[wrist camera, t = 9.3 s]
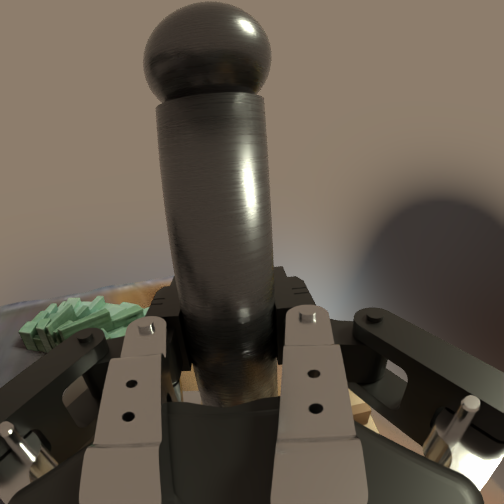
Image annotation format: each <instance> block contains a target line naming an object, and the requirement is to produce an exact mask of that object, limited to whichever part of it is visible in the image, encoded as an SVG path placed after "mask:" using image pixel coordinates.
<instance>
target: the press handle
mask: <svg viewBox="0 0 504 504" xmlns="http://www.w3.org/2000/svg"><path fill="white" fill-rule="evenodd" d="M270 66H271V48H270V44H269V40H268V38H267V35H266V33H265V31H264V30H263V28H262V27H261V25H260V24H259V23H258V22H257V21H256V20H255V19H254V18H253V17H252V16H251V15H250V14H248V13H247V12H245V11H243V10H242V9H240V8H237V7H235V6H233V5H230V4H225V3H220V2H200V3H194V4H191V5H188V6H185V7H182V8H180V9H178V10H176V11H174V12H173V13H171V14H170V15H168V16H167V17H166V18H165V19H163V20H162V21H161V22H160V23H159V25H158V26H157V27H156V28H155V29H154V31H153V32H152V34H151V36H150V37H149V39H148V42H147V44H146V47H145V52H144V59H143V67H144V74H145V78H146V81H147V83H148V85H149V87H150V89H151V91H152V92H153V94H154V95H155V96H156V97H157V98H158V99H159V100H160V101H161V102H162V104H160V105H158V106H157V107H156V122H157V136H158V149H159V160H160V170H161V179H162V189H163V197H164V206H165V214H166V221H167V228H168V235H169V242H170V249H171V255H172V261H173V268H174V274H175V280H176V285H177V291H178V296H179V302H180V307H181V312H182V317H183V322H184V327H185V332H186V337H187V341H188V346H189V351H190V355H191V359H192V364H193V368H194V372H195V377H196V381H197V385H198V389H199V391H183V401H184V402H190V403H195V404H201V405H207V406H213V407H220V408H227V407H231V406H235V405H239V404H243V403H247V402H251V401H254V400H258V399H261V398H268V397H277V396H278V387H277V357H276V324H275V289H274V265H273V243H272V222H271V204H270V186H269V168H268V152H267V136H266V122H265V108H264V98H263V97H262V96H259V95H256V94H257V93H258V92H259V91H260V90H261V88H262V86H263V85H264V83H265V81H266V79H267V77H268V74H269V70H270Z"/></svg>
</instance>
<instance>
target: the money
mask: <svg viewBox="0 0 504 504" xmlns="http://www.w3.org/2000/svg"><path fill="white" fill-rule="evenodd" d="M148 309H149V307H148V308H145V309H143V308H141V307H140V306H139V305H136V304H132V303H127V302H122V303H121V304H120V305H117V304H109V303H105V300H104V296H97V297H96V298H95V299H94V300H93V301H92V302H81V301H80V298H68V300H67V302H66V301H63V302H62V303H61V304H60V306H58V308H57V304H53V303H52V304H51V305H50V306H49V307H48V308H47V309H46V310H45V311H40V312H39V314H38V315H37V316H36V317H35V318H34V319H33V320H32V321H31V322H27V323H26V324H25V325H24V326H23V327H22V328H21V329H20V330H19V334H20V336H21V338H22V340H23V342H24V344H25V346H26V348H27V350H33V351H43V352H47V353H48V352H49V351H51V350H52V349H53V348H55V347H56V346H58V345H59V344H60V343H62V342H63V341H65V340H66V339H67V338H69V337H70V336H71V335H73V334H74V333H76V332H78V331H80V330H82V329H86V328H99V329H101V330H103V332H104V334H105V337H106V340H107V339H112V338H117V337H121V336H125V333H126V329H127V327H128V325H129V324H130V323H131V322H133V321H135V320H137V319H139V318H142V317H145V315H146V313H147V311H148Z"/></svg>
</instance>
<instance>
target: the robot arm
mask: <svg viewBox="0 0 504 504" xmlns="http://www.w3.org/2000/svg"><path fill="white" fill-rule="evenodd" d="M274 289H275V324H276V357H277V361H278V365H281V364H283V365H282V381H281V396H277V397H268V398H261V399H258V400H254V401H251V402H247V403H243V404H239V405H235V406H231V407H227V408H220V407H213V406H207V405H201V404H195V403H190V402H184V401H183V391H182V383H181V379H180V376H181V371H191V365H192V359H191V355H190V351H189V346H188V341H187V337H186V332H185V327H184V322H183V317H182V312H181V307H180V302H179V296H178V291H177V285H176V280H175V276H174V278H173V280H172V283H171V285H170V286H167V287H163V288H161V289H160V290H159V291H158V292H156V294H155V296H154V298H153V300H152V302H151V305H150V307H149V309H148V311H147V313H146V315H145V317H142V318H139V319H137V320H135V321H133V322H131V323H130V324H129V325H128V327H127V329H126V333H125V336H121V337H117V338H112V339H107V340H106V337H105V334H104V332H103V330H101V329H99V328H86V329H82V330H80V331H78V332H76V333H74V334H73V335H71V336H70V337H69V338H67V339H66V340H65V341H63V342H62V343H60V344H59V345H58V346H56V347H55V348H53V349H52V350H51V351H49V352H48V353H47V354H45V355H44V356H43V357H41V358H40V359H39V360H37V361H36V362H34V363H33V364H32V365H30V366H29V367H28V368H26V369H25V370H24V371H22V372H21V373H20V374H18V375H17V376H16V377H14V378H13V379H12V380H10V381H9V382H8V383H7V384H5V385H4V386H3V387H1V388H0V498H1V499H2V501H3V502H4V503H5V504H484V501H483V497H482V495H481V493H480V489H481V488H482V487H483V485H484V484H485V483H486V481H487V480H488V479H489V477H490V476H491V474H492V473H493V471H494V470H495V468H496V466H497V465H498V464H499V463H500V461H501V460H502V459H503V458H504V373H503V372H501V371H499V370H497V369H496V368H494V367H492V366H490V365H488V364H486V363H485V362H483V361H481V360H479V359H477V358H475V357H473V356H472V355H470V354H468V353H466V352H464V351H462V350H460V349H458V348H457V347H455V346H453V345H451V344H449V343H447V342H445V341H443V340H442V339H440V338H438V337H436V336H434V335H432V334H430V333H429V332H426V331H425V330H423V329H421V328H419V327H417V326H415V325H413V324H411V323H410V322H408V321H406V320H404V319H402V318H400V317H398V316H396V315H395V314H392V313H391V312H389V311H387V310H384V309H380V308H365V309H362V310H359V311H358V312H356V313H355V315H354V321H338V320H333V319H330V318H329V314H328V312H327V311H326V310H325V309H324V308H322V307H320V306H316V304H315V302H314V300H313V298H312V296H311V294H310V293H309V291H308V289H307V287H306V285H305V283H304V281H303V280H301V279H299V278H298V277H296V276H294V277H287V276H286V273H285V271H284V269H283V267H282V266H280V267H274ZM387 360H390V361H391V362H393V363H394V364H396V365H398V366H399V367H401V368H402V369H403V370H404V371H405V372H406V374H407V377H408V383H407V382H406V381H404V380H403V379H401V378H400V377H398V376H397V375H395V374H394V373H392V372H391V371H389V370H388V369H386V364H387ZM81 375H82V377H83V379H84V381H85V383H86V385H87V387H88V388H87V389H86V390H85V391H84V392H83V393H82V394H81V395H80V396H78V397H77V398H76V399H75V400H74V401H73V402H72V403H71V404H70V405H69V406H67V407H65V405H64V403H63V401H62V395H63V392H64V390H65V389H66V388H67V387H68V386H70V385H71V384H72V383H73V382H74V381H75V380H77V379H78V378H79V377H80V376H81ZM348 388H349V389H350V390H351V391H352V392H353V393H354V394H356V395H357V396H358V397H359V398H361V399H362V400H363V401H364V402H366V403H367V404H368V405H369V406H371V407H372V408H373V409H374V410H376V411H377V412H378V413H379V414H381V415H382V416H383V417H384V418H386V419H387V420H388V421H390V422H391V423H392V424H393V425H395V426H396V427H397V428H399V429H400V430H401V431H402V432H404V433H405V434H406V435H408V436H409V437H410V438H412V439H413V440H414V441H416V442H417V443H418V444H420V445H421V446H422V447H423V453H424V456H425V457H424V456H422V455H420V454H418V453H415V452H413V451H411V450H409V449H407V448H405V447H403V446H401V445H399V444H397V443H395V442H394V441H392V440H390V439H388V438H386V437H384V436H382V435H380V434H378V433H376V432H375V431H373V430H371V429H369V428H367V427H365V426H364V425H362V424H360V423H358V422H357V421H355V420H353V413H352V407H351V401H350V396H349V390H348ZM94 434H95V438H94V441H92V442H91V443H90V444H88V445H87V446H85V447H84V448H82V447H83V446H84V445H85V444H86V443H87V442H88V441H89V440H90V438H91V437H92V436H93V435H94ZM81 448H82V449H81ZM80 449H81V450H80ZM79 450H80V451H79Z"/></svg>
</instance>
